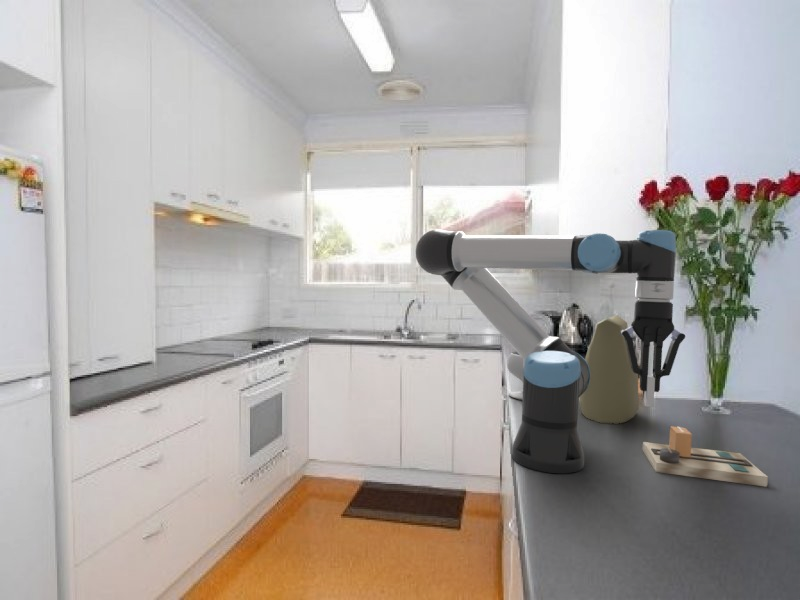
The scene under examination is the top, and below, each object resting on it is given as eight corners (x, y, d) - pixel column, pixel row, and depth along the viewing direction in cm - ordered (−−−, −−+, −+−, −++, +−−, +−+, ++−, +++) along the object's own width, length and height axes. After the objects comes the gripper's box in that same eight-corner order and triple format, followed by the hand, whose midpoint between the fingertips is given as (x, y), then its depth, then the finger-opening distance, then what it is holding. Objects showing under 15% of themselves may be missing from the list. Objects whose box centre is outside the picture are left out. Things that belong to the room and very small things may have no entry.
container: (585, 401, 161) (590, 312, 160) (641, 410, 153) (647, 316, 151) (570, 417, 141) (575, 315, 140) (633, 428, 132) (639, 320, 131)
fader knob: (674, 455, 104) (676, 431, 104) (669, 447, 109) (670, 425, 109) (690, 457, 104) (691, 433, 103) (683, 449, 108) (685, 427, 108)
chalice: (548, 395, 169) (550, 352, 168) (547, 404, 156) (550, 358, 155) (507, 391, 173) (509, 349, 173) (504, 399, 160) (506, 354, 159)
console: (655, 471, 101) (657, 452, 101) (642, 450, 115) (643, 432, 115) (767, 486, 96) (768, 466, 96) (739, 461, 109) (740, 443, 109)
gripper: (624, 299, 105) (619, 406, 106) (691, 302, 101) (686, 412, 102) (619, 299, 112) (614, 399, 113) (682, 301, 109) (676, 404, 110)
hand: (648, 405), depth 108 cm, fingers closed
